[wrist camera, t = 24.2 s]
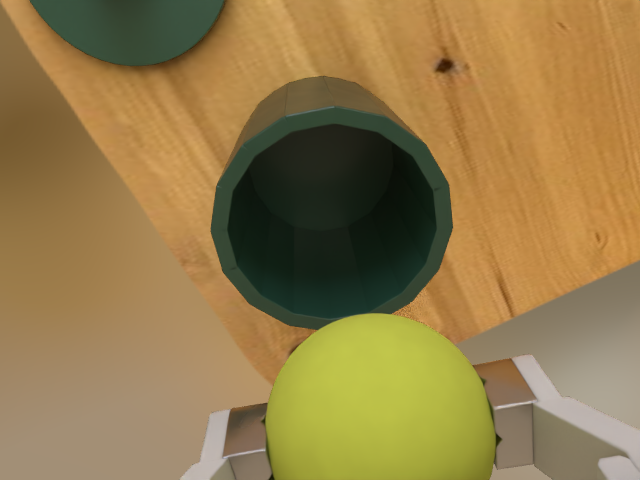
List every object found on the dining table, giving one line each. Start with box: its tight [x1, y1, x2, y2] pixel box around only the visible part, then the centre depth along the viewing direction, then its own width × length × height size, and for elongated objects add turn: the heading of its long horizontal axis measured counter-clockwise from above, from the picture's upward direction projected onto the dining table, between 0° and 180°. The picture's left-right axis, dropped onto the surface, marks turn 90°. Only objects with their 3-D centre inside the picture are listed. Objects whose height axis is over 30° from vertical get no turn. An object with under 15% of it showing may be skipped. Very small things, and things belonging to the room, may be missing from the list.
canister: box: [211, 76, 453, 330], centre depth 31 cm, size 12×12×12 cm
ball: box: [265, 313, 496, 480], centre depth 12 cm, size 5×5×5 cm
